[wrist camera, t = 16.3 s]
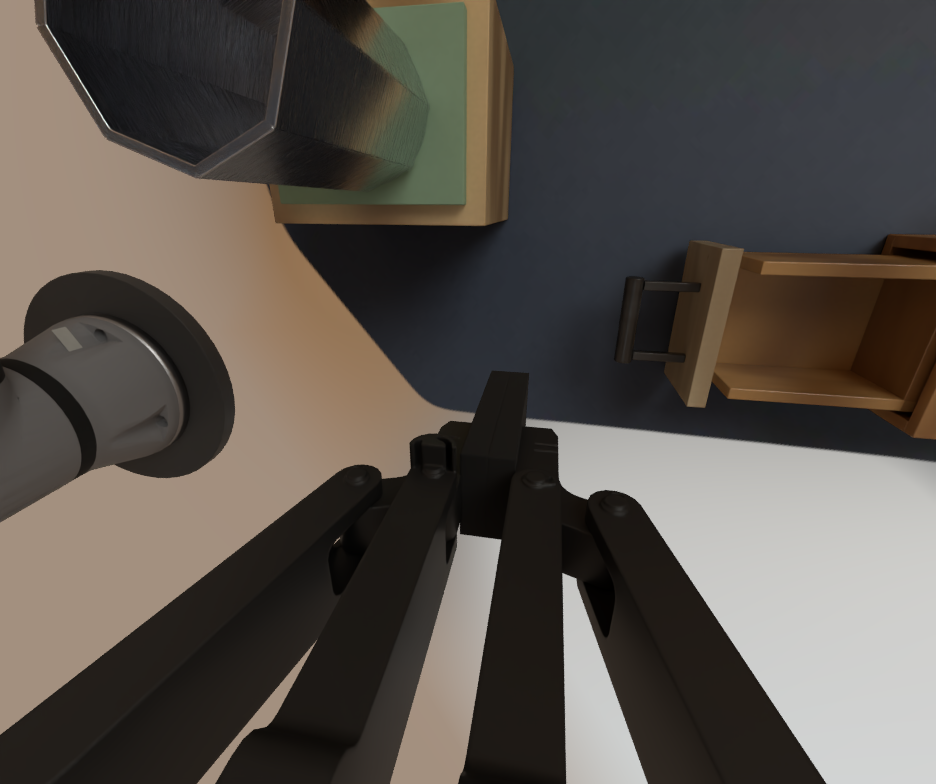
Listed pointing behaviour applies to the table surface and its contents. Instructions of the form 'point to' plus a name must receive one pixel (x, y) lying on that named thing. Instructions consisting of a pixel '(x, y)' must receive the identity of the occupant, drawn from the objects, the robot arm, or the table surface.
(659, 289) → the drawer
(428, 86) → the mat
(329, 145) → the metal cup
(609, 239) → the table surface
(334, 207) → the stand
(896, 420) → the cabinet
